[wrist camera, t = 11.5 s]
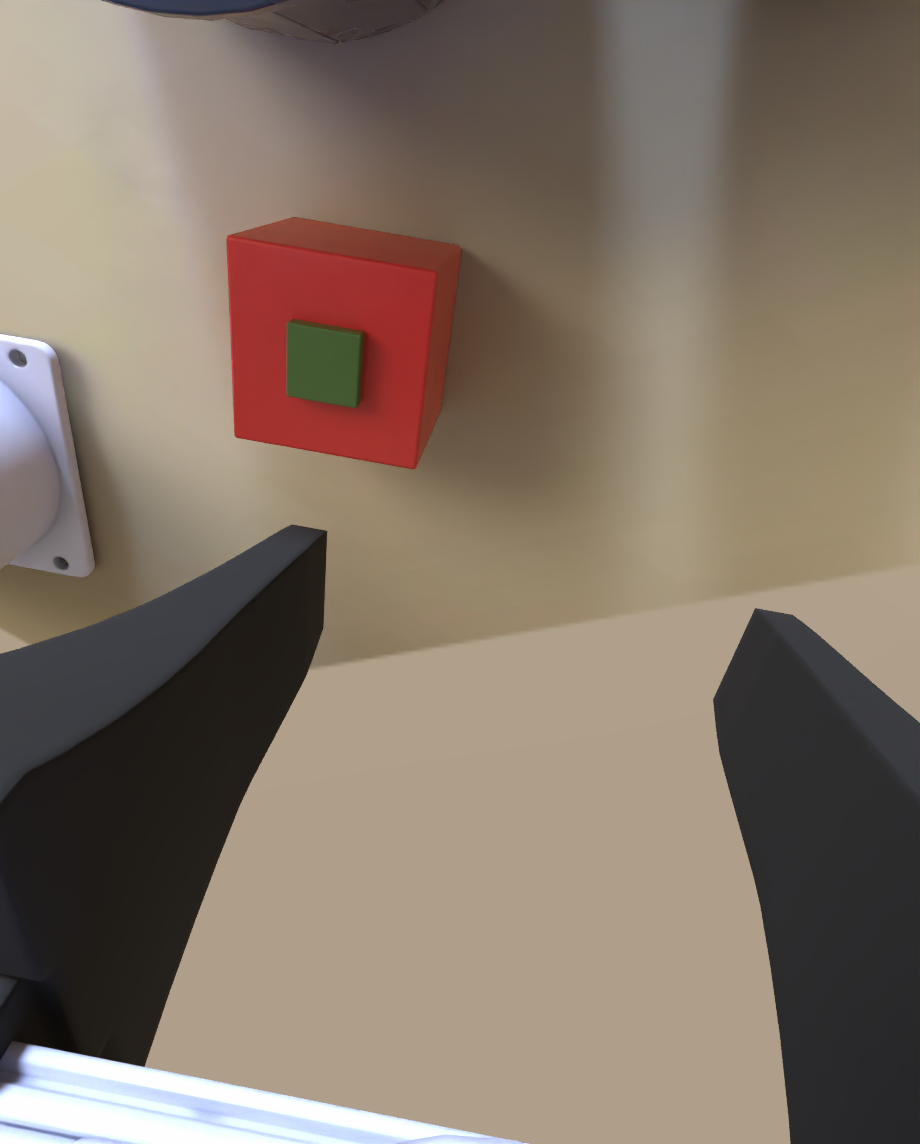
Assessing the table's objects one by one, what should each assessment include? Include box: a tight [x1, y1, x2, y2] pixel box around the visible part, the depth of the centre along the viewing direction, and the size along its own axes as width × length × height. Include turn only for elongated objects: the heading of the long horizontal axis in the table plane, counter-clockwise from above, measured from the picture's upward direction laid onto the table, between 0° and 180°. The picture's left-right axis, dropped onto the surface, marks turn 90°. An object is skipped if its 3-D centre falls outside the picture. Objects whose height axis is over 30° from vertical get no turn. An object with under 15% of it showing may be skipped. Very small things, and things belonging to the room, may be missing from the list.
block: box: [227, 217, 461, 469], centre depth 17 cm, size 4×4×5 cm
